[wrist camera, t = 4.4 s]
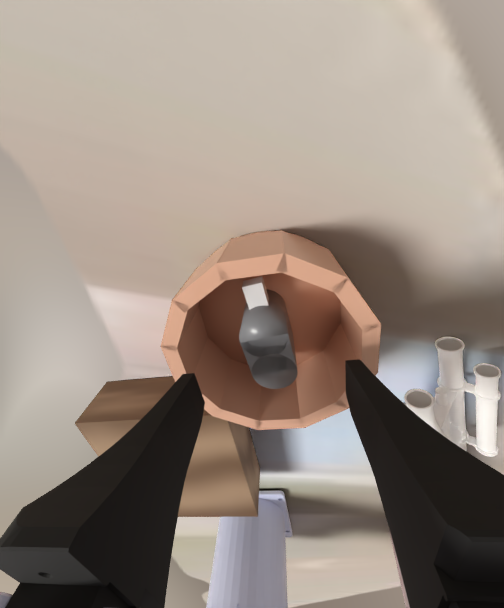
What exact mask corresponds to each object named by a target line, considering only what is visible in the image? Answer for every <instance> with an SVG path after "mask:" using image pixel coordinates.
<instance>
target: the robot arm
mask: <svg viewBox="0 0 504 608" xmlns="http://www.w3.org/2000/svg"><path fill="white" fill-rule="evenodd" d="M345 371H346V396H347V400H348V404H349V408H350V412H351V415H352V418H353V421H354V423H355V426H356V429H357V431H358V434H359V436H360V439H361V442H362V444H363V447H364V449H365V452H366V455H367V457H368V460H369V462H370V465H371V468H372V471H373V474H374V476H375V480H376V483H377V487H378V490H379V494H380V497H381V500H382V504H383V508H384V511H385V515H386V518H387V522H388V526H389V529H390V533H391V536H392V540H393V544H394V548H395V552H396V555H397V559H398V563H399V567H400V570H401V574H402V578H403V582H404V586H405V590H406V594H407V598H408V602H409V606H410V608H504V475H503V474H501V473H500V472H498V471H496V470H495V469H493V468H491V467H490V466H488V465H486V464H485V463H483V462H482V461H480V460H478V459H477V458H475V457H474V456H472V455H471V454H469V453H468V452H466V451H465V450H463V449H462V448H460V447H459V446H457V445H456V444H454V443H453V442H451V441H450V440H449V439H447V438H446V437H445V436H443V435H442V434H440V433H439V432H438V431H436V430H435V429H434V428H432V427H431V426H430V425H429V424H427V423H426V422H425V421H424V420H422V419H421V418H420V417H419V416H417V415H416V414H415V413H414V412H413V411H412V410H410V409H409V408H408V407H407V406H406V405H405V404H404V403H402V402H401V401H400V400H399V399H398V398H397V397H396V396H395V395H394V394H393V393H392V392H391V391H390V390H389V389H388V388H387V387H386V386H385V385H384V384H383V383H382V382H381V381H380V380H379V379H378V378H377V377H376V376H375V375H374V374H373V373H372V372H371V371H370V370H369V369H368V368H367V366H366V365H365V364H364V363H363V362H362V361H361V360H360V359H357V360H345ZM204 405H205V401H204V398H203V396H202V393H201V390H200V387H199V384H198V382H197V379H196V376H195V373H189V374H182V375H181V377H180V378H179V379H178V380H177V381H176V382H175V383H174V384H173V385H172V387H171V388H170V389H169V390H168V391H167V392H166V393H165V394H164V396H163V397H162V398H161V399H160V400H159V401H158V402H157V403H156V404H155V405H154V407H153V408H152V409H151V410H150V411H149V412H148V413H147V414H146V415H145V416H144V417H143V418H142V419H141V420H140V421H139V422H138V423H137V424H136V425H135V426H134V427H133V428H132V429H131V430H130V431H128V432H127V433H126V434H125V435H124V436H123V437H122V438H121V439H120V440H118V441H117V442H116V443H115V444H114V445H113V446H111V447H110V448H109V449H108V450H106V451H105V452H104V453H103V454H101V455H100V456H99V457H98V458H96V459H95V460H94V461H92V462H91V463H90V464H89V465H87V466H86V467H84V468H83V469H82V470H80V471H79V472H78V473H76V474H75V475H73V476H72V477H70V478H69V479H68V480H66V481H65V482H63V483H62V484H60V485H59V486H57V487H56V488H54V489H53V490H51V491H49V492H48V493H46V494H44V495H43V496H41V497H40V498H38V499H37V500H35V501H33V502H32V503H30V504H28V505H27V506H25V507H23V509H22V510H21V511H20V512H19V514H18V515H17V517H16V518H15V519H14V521H13V522H12V523H11V525H10V526H9V527H8V529H7V530H6V532H5V533H4V534H3V535H2V537H1V538H0V570H2V571H4V572H5V573H6V574H8V575H9V576H11V577H12V578H14V579H15V580H17V581H18V582H20V584H19V586H18V588H17V589H16V591H15V593H14V594H13V595H11V594H8V593H3V592H0V608H164V605H165V596H166V589H167V581H168V574H169V567H170V559H171V553H172V547H173V541H174V534H175V528H176V523H177V518H178V512H179V507H180V501H181V497H182V492H183V487H184V482H185V478H186V474H187V470H188V467H189V464H190V460H191V457H192V454H193V450H194V447H195V444H196V440H197V437H198V434H199V430H200V427H201V423H202V418H203V412H204ZM285 537H292V528H291V523H290V518H289V513H288V509H287V504H286V499H285V494H284V492H283V491H259V503H258V517H220V521H219V528H218V534H217V541H216V547H215V554H214V561H213V567H212V574H211V580H210V588H209V593H208V600H207V607H206V608H288V603H287V573H286V543H285Z"/></svg>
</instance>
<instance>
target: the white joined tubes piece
mask: <svg viewBox="0 0 504 608" xmlns="http://www.w3.org/2000/svg"><path fill="white" fill-rule="evenodd" d="M435 347H436V349H437V351H438V361H439V372H440V376H439V377H438V379H437V383H438V386H439V387H437V388H436V389H435V393H436V395H435V397H434V398H433V396H432V395H431V394H430V393H429V392H427V391H425V390H421V389H412V390H409V391H407V393H406V394H405V396H404V398H405V403H404V404H405V405H406V406H407V407H408V408H409V409H410V410H412V411H413V412H414V413H415V414H416V415H417V416H419V417H420V418H421V419H422V420H424V421H425V422H426V423H427V424H429V425H430V426H431V427H432V428H434V429H435V430H436V431H438V432H439V433H440V434H442V435H443V436H445V437H446V438H447V439H449V440H450V441H451V442H453V443H454V444H456V445H457V446H459V447H460V448H462V449H463V450H465V451H466V452H467V446H466V444H470V445H472V446H474V447H475V448H476V450H477V451H478V452H479V453H481V454H482V455H485V456H488V457H493V456H496V455H497V454H498V446H497V445H496V436H497V410H498V400H499V399H500V398H501V393H500V391H499V390H498V384H499V378H500V377H501V370H500V369H499V368H498V367H496V366H494V365H492V364H487V363H481V364H477V365H475V366H474V368H473V372H474V374H475V375H476V385H473V384H469V383H467V381H466V380H465V379H464V374H463V350H464V347H465V344H464V342H463V341H462V340H460V339H458V338H456V337H450V336H447V337H441V338H439V339H437V340H436V341H435ZM464 391H466V392H469V393H473V394H474V395H475V396H476V438H475V437H473V436H470V435H469V434H468V432H467V430H466V422H465V398H464Z"/></svg>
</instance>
